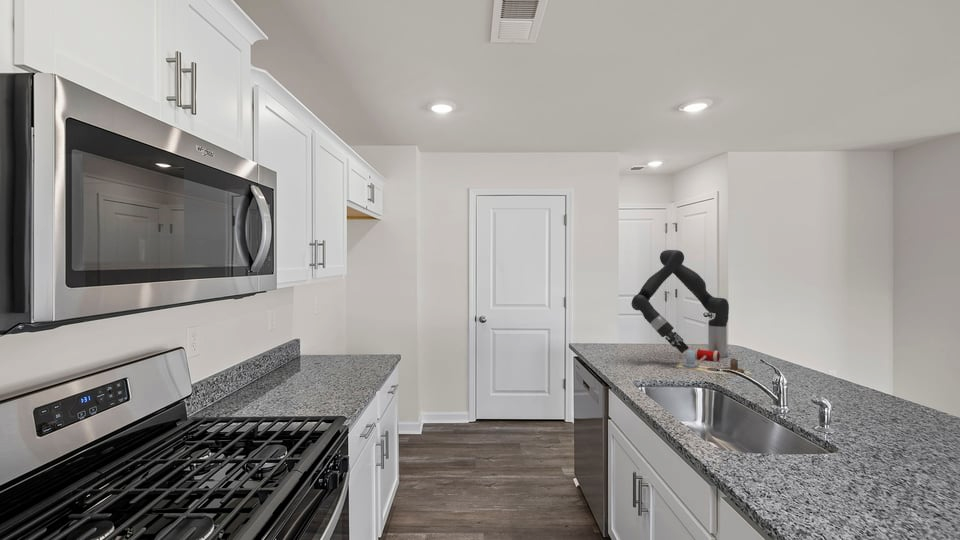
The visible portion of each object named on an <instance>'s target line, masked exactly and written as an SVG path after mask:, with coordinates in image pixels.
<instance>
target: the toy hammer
mask: <svg viewBox="0 0 960 540" xmlns="http://www.w3.org/2000/svg"><path fill="white" fill-rule="evenodd" d="M693 351H695V361H697V360H698V359H699V360H698V361H697V362H696V363H697V364H701V363H702V362H703V361H707V362H714V363H715V362H716V363H719V362H720V360H721V357H720V353H719V351H708V350H706V349H705V350H704V349H700V348H697V347H696V348H694V349H693Z"/></svg>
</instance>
